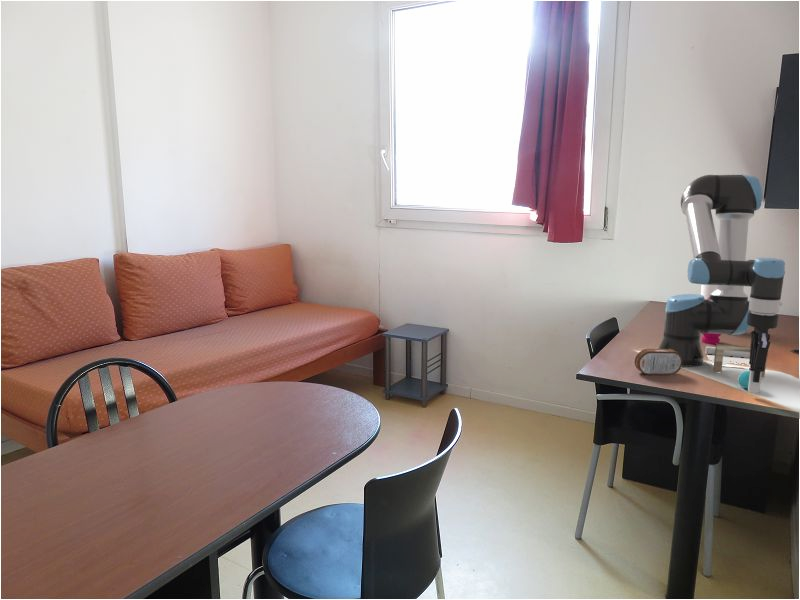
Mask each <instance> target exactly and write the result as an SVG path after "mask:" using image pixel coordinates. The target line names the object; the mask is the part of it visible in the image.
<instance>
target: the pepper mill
mask: <svg viewBox="0 0 800 600" xmlns="http://www.w3.org/2000/svg"><path fill="white" fill-rule="evenodd" d="M707 300H709V298H708V299H707ZM701 334H702V337H701V343H704V344H708V345H716V344H720V340H721V339H720V338H719V337H721V336H722V334H714V333H701Z"/></svg>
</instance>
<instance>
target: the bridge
mask: <svg viewBox="0 0 800 600" xmlns="http://www.w3.org/2000/svg"><path fill="white" fill-rule="evenodd" d="M715 347H716V349H715V355H714V356H715V358H714V366H712V367H713V369H712V371H713V370H714V371H713V372H721V373H722V368H723V367H722V362H723V353H724V350H732V351H743V352H750V347H751V345H750V346H747V345H736V344H724V343H719V344H715ZM767 358H768V357H767ZM767 358H766V362H767V360H768V359H767ZM766 367H767V363H766V364H765V370H764V372H763V371H762V375H761V378H763V377H764V378H765V376H766Z"/></svg>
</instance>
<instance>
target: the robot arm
mask: <svg viewBox="0 0 800 600" xmlns="http://www.w3.org/2000/svg"><path fill="white" fill-rule="evenodd" d="M761 183H762V182H761V181H760V180H759V178H758V177H757V176H755V175H749V174H706V175H705V174H704V175H702V176H700V177H696V179H694V180H693V181H691V182H690V183H689V184H688V185H687V186H686V188H685V189H684V191H683V193H682V195H681V198H680V208H681V211H682V213H683V214H684V215H685V217H686V223H687V229H688V235H689V241H690V245H691V253H692V257H693V258H692V259H690V260H689V262H688V265H687V279H688V282H690V283H691V284H697V285H701V286H702V285H715V290H714V291H713V292H712V293H710V297H709V300H706V299H705V298H704V296H703V295H701V294H698V293H696V294H695V293H694V294H693V293H684V294H676V295H675V294H674V295H673V296H670V297H669V298H668V299H667V301H666V306H665V309H664V311H665V316H664V317H665V318H664V326H663V337H662V340H661V342H660V344H659V346H658V348H657V349H673V350H675V351H676V352H677V353H679V354H680V355H681V357H682V360H683V363H682V367H698V366H701V365H703V363H704V353H703V350H702V345H701V334H702V333H714V334H721V335H728V336H737V335H739V336H740V335H741V336H742V335H744V334H745V333H747V332H748V331H749V329H750V327H752V328H753V330H752V331H751V332H750V346H751V347H750V355H749V359H750V361H749V364H750V368H749V369H748V371H750V376H749V384H748V389H747V392H748V393H755V394H756V393H757V394H760V389H761V381H762V377H761V375H762V371H763V372H764V370H765V371H766V369H765V364H766V365H767V361H766V358H768V354H769V353H768V352H769V348H770V346H771V341H770V339H771V338H770V337H771V334H770V333H769V330H770V329H772V330H773V329H776V328H777V327H778V325H779V318H780V317H779V315H778V313H780V306H782V305H783V302H782V301H781V297H782V293H783V292H782V291H783V287H784V277H785V273H786V263H785V261H784V259H781V258H777V257H776V258H774V257H758V258H755V259H748V260H747V259H746V258H747V246H748V232H749V221H750V220H751V219H752V218H753V217H754V216H755V211H758V210H759V209H761V207H762V202H763V188H762V184H761ZM712 210H714V211H715V217H717V219H718V220H719V227H718V228H719V230H718V231H719V232H718V237H717V232H716V229H715V224H714V218H713V214H712ZM744 287H750V294H749V295H748V294H746V292H745V291H744Z"/></svg>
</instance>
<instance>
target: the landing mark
mask: <svg viewBox="0 0 800 600" xmlns="http://www.w3.org/2000/svg"><path fill="white" fill-rule="evenodd" d="M706 356H707V360H708V361H709V363H710V362H712V363H714V358H715V355H708V354H706ZM710 360H712V361H710ZM730 361H731V362H730ZM749 361H750V358H741V357H730V356H723V362H722V365H726V363H734V364H738V363H739V364H741V363H745V364H747V365H749V366H750V364H749ZM736 362H737V363H736ZM742 365H744V364H742Z"/></svg>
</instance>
